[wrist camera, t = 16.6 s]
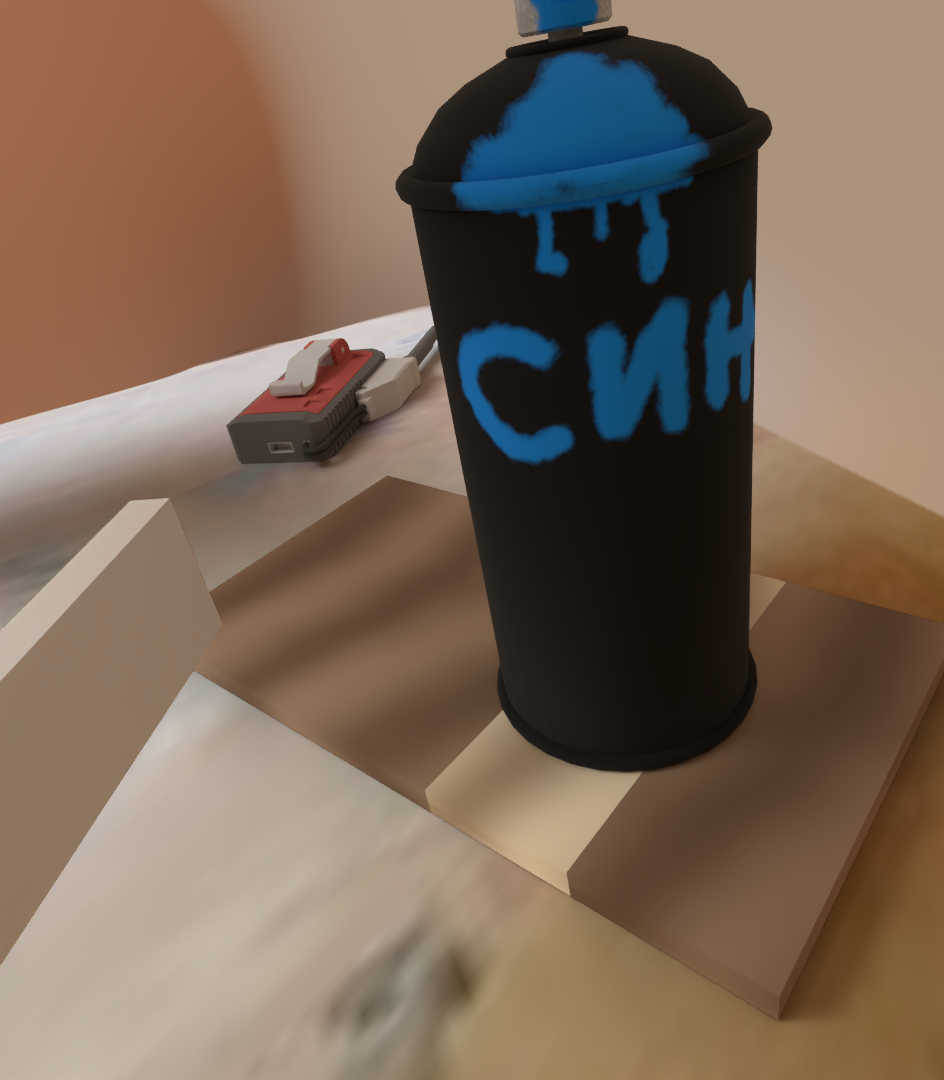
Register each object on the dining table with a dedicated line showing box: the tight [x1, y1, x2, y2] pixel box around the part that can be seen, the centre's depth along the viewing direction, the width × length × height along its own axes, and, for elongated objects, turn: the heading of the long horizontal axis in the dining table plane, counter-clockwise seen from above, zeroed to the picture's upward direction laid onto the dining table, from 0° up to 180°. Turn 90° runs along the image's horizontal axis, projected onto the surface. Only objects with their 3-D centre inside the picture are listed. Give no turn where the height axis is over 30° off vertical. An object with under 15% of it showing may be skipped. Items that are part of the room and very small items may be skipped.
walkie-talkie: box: [226, 326, 437, 464], centre depth 54 cm, size 9×4×20 cm
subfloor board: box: [194, 476, 944, 1020], centre depth 30 cm, size 26×14×1 cm, turn 50°
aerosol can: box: [396, 0, 772, 772], centre depth 21 cm, size 8×8×20 cm
